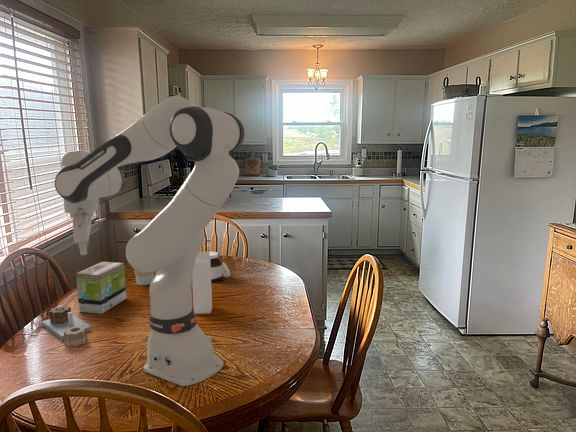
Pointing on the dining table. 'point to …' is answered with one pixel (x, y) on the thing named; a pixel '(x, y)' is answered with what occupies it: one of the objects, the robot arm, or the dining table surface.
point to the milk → (202, 284)
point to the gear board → (64, 324)
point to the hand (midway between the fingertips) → (84, 250)
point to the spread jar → (217, 267)
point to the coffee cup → (144, 277)
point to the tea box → (101, 287)
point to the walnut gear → (59, 315)
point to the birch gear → (75, 335)
